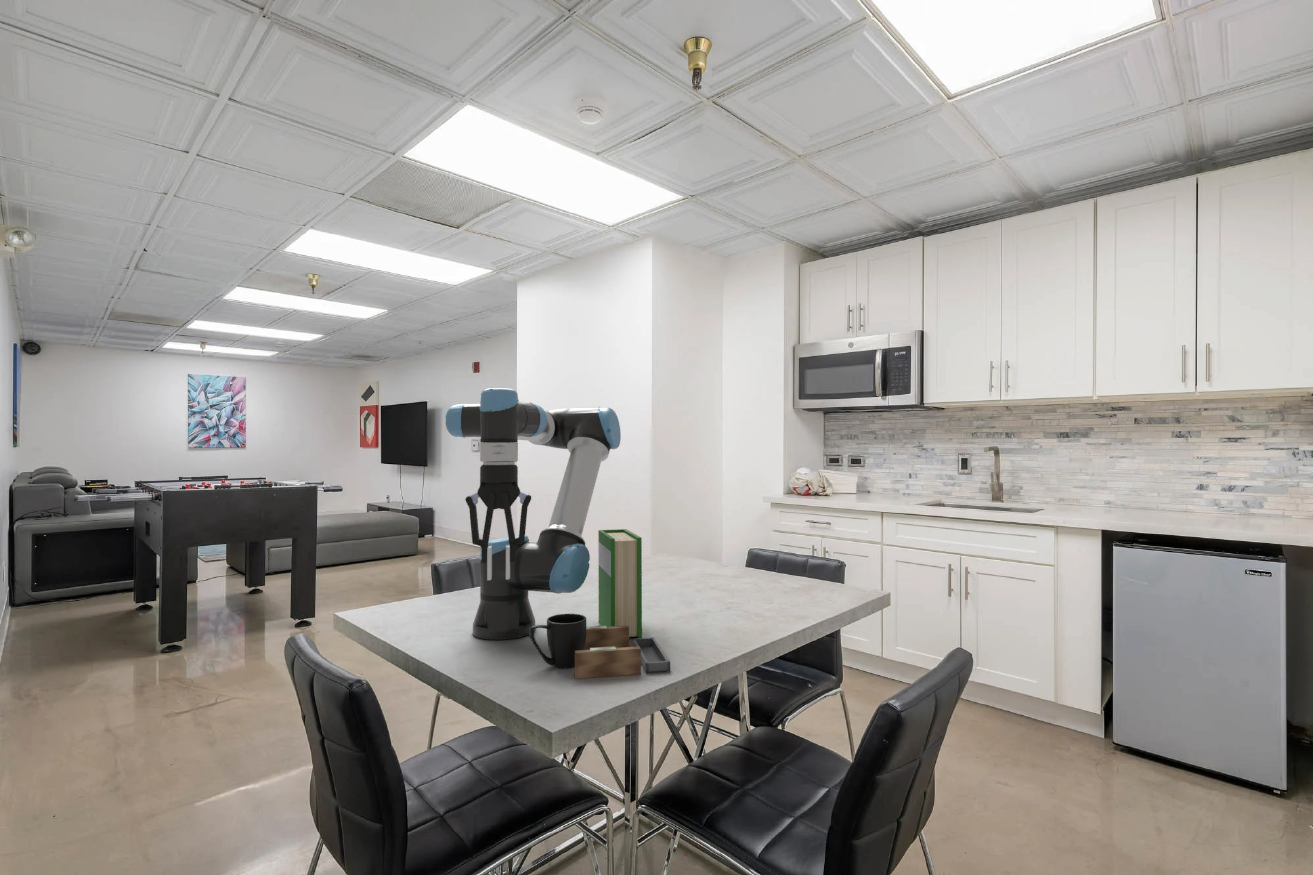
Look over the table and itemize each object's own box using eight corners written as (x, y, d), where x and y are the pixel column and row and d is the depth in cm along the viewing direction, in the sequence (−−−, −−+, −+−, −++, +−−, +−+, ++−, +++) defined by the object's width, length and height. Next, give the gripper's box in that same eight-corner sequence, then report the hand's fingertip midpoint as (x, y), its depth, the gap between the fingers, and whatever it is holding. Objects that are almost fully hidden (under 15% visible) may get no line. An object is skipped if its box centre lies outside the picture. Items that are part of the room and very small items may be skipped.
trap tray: (645, 673, 125) (645, 663, 125) (632, 647, 141) (632, 638, 141) (670, 671, 126) (670, 661, 126) (654, 646, 142) (654, 637, 142)
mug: (524, 664, 131) (524, 618, 131) (579, 655, 136) (578, 611, 136) (534, 676, 123) (534, 628, 123) (592, 667, 129) (592, 620, 129)
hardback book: (641, 639, 148) (641, 537, 148) (611, 641, 146) (610, 538, 146) (626, 620, 165) (626, 529, 165) (598, 622, 163) (598, 530, 163)
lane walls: (575, 678, 122) (575, 651, 122) (570, 651, 139) (570, 627, 139) (641, 673, 124) (640, 647, 124) (628, 647, 141) (627, 624, 141)
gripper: (456, 464, 123) (455, 584, 122) (538, 463, 126) (538, 580, 126) (460, 463, 130) (460, 576, 130) (538, 463, 134) (538, 573, 133)
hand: (498, 578), depth 128 cm, fingers open, 3 cm apart
